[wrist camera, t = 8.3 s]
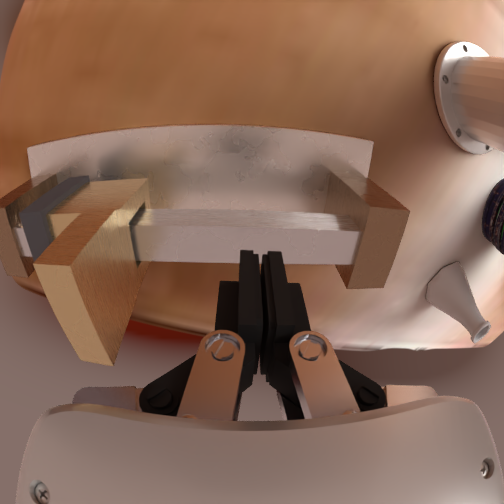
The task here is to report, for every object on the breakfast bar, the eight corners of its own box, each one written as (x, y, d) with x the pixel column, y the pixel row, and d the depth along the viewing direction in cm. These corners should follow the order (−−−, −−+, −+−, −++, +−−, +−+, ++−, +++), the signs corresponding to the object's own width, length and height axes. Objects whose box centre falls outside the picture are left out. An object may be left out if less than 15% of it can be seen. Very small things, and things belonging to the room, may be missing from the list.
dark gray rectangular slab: (89, 175, 17) (40, 211, 11) (102, 249, 20) (70, 300, 15) (68, 177, 17) (18, 213, 11) (83, 248, 20) (48, 297, 15)
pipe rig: (368, 139, 20) (427, 166, 13) (343, 257, 27) (375, 317, 19) (33, 145, 18) (-27, 174, 11) (55, 251, 24) (16, 301, 17)
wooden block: (148, 175, 17) (69, 265, 8) (156, 251, 20) (113, 366, 11) (86, 179, 17) (-8, 260, 8) (100, 249, 20) (40, 350, 11)
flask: (427, 310, 33) (459, 361, 24) (420, 281, 29) (460, 338, 21) (463, 284, 31) (499, 330, 22) (460, 251, 27) (505, 300, 19)
